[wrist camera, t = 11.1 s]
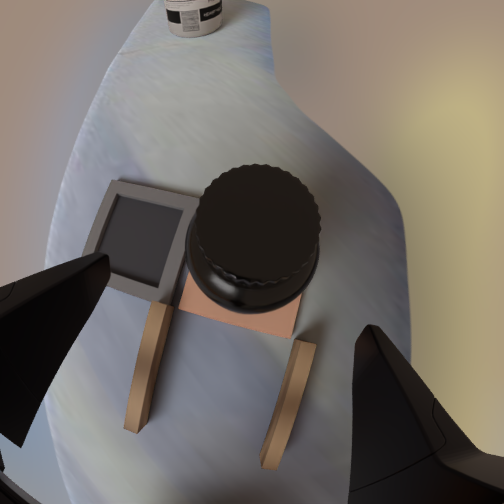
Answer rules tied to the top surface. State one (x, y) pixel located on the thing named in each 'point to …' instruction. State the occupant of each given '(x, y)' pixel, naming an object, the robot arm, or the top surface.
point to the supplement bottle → (254, 239)
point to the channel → (150, 364)
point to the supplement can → (193, 17)
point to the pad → (269, 322)
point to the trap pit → (142, 238)
